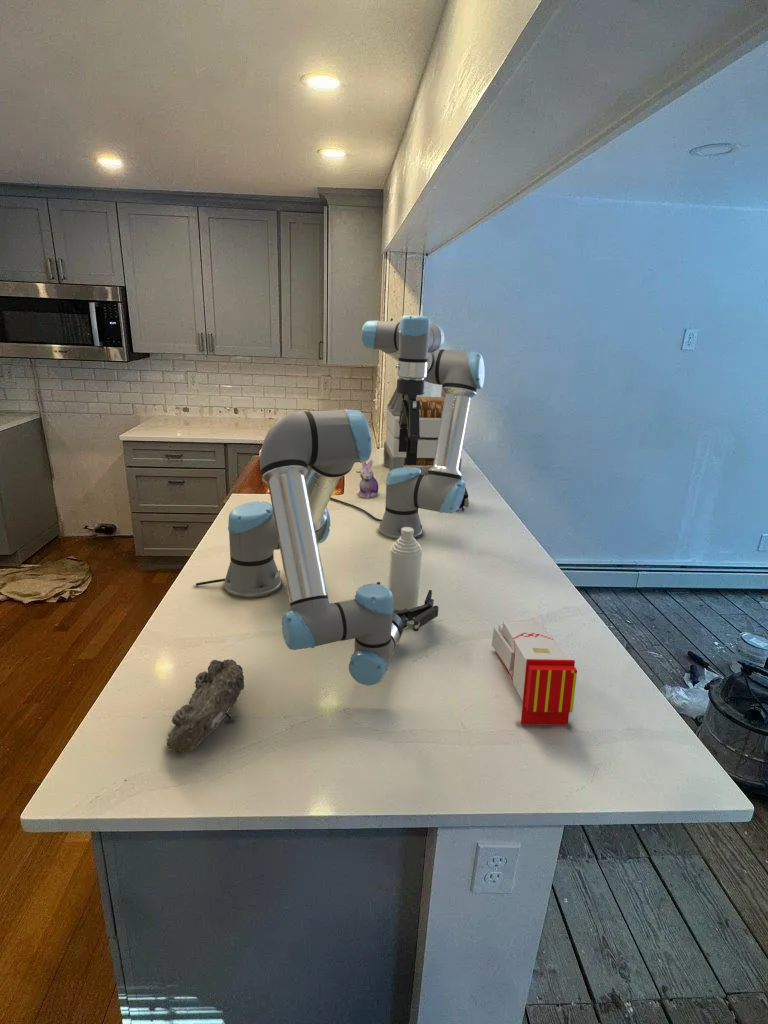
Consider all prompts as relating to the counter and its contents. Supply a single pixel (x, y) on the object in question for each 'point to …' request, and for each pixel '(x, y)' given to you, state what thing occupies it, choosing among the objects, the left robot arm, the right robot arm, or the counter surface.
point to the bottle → (405, 570)
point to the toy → (537, 671)
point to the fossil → (206, 705)
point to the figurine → (368, 481)
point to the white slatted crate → (428, 431)
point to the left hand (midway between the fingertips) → (404, 590)
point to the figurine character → (464, 500)
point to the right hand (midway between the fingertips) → (406, 457)
